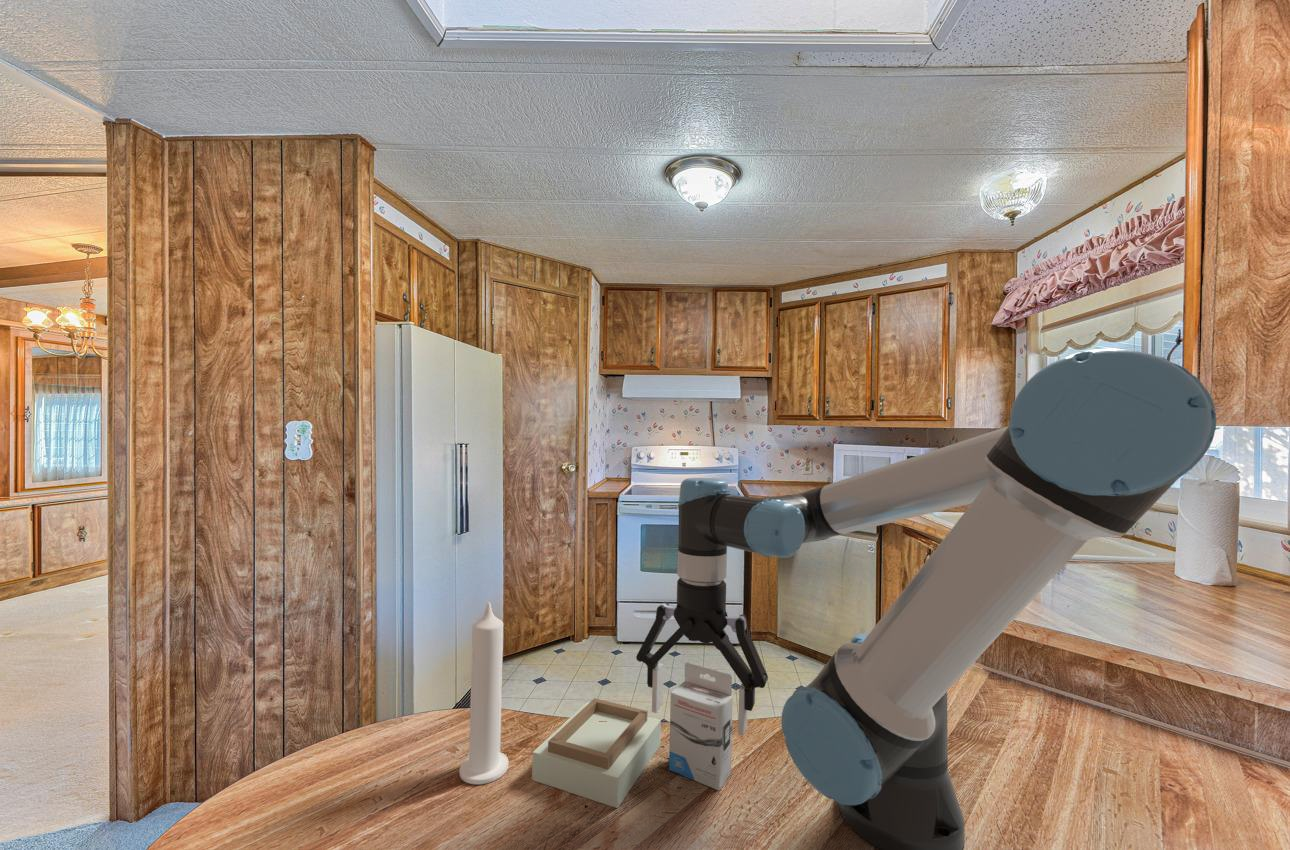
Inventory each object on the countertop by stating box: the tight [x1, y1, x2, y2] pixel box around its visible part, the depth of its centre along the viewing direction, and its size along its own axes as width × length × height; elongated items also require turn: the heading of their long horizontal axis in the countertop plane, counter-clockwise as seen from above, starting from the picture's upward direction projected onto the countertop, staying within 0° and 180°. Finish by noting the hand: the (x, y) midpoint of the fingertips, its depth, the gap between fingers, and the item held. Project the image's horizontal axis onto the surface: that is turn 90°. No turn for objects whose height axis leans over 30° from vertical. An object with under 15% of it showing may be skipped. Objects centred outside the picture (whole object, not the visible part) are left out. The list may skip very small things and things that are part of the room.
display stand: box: [531, 698, 662, 809], centre depth 79 cm, size 14×16×6 cm
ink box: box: [668, 661, 734, 791], centre depth 77 cm, size 9×5×15 cm, turn 58°
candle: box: [458, 601, 510, 785], centre depth 77 cm, size 7×7×25 cm
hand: (698, 719), depth 77 cm, fingers open, 13 cm apart
